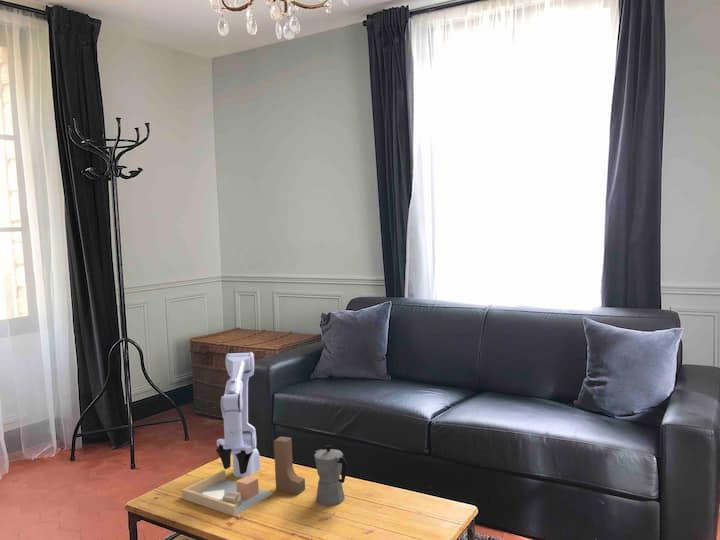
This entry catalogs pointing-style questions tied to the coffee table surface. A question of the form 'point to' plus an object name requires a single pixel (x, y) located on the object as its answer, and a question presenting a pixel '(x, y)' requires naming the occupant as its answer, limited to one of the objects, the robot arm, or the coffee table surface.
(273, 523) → the coffee table surface
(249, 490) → the terracotta cube
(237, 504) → the ash block
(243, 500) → the arena board
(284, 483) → the wooden block
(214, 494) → the pad
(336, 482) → the coffeepot
